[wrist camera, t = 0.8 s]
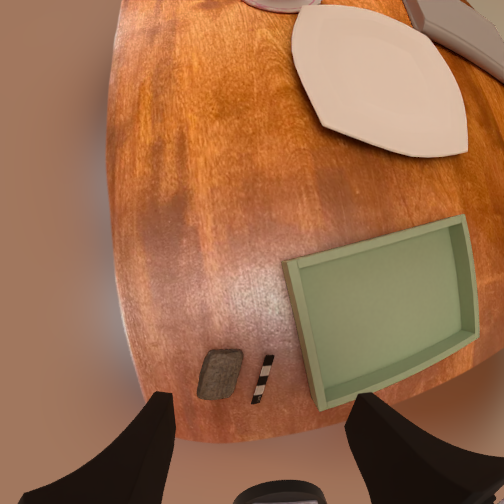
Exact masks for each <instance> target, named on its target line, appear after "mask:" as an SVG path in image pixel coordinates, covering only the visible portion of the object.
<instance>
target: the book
mask: <svg viewBox="0 0 504 504" xmlns="http://www.w3.org/2000/svg"><path fill="white" fill-rule="evenodd" d="M402 1H403V3H404V5H405V8H406V10H407V13H408V15H409V18H410V20H411V23H412V25H413V28H414V29H415V30H417V31H419V32H420V33H422V34H424V35H426V36H427V37H428V38H429V39H431V40H433V41H435V42H437V43H439V44H441V45H443V46H444V47H446V48H448V49H450V50H452V51H454V52H455V53H457V54H459V55H461V56H462V57H464V58H466V59H467V60H469V61H471V62H472V63H474V64H476V65H477V66H479V67H480V68H482V69H483V70H485V71H486V72H488V73H489V74H491V75H492V76H494V77H495V78H496V79H498V80H499V81H501V82H502V83H503V84H504V42H503V40H502V38H501V36H500V35H499V32H498V31H497V29H496V27H495V25H494V24H493V23H492V22H490V21H489V20H488V19H486V18H485V17H484V16H482V15H481V14H479V13H478V12H476V11H475V10H474V9H472V8H471V7H469V6H467V5H466V4H464V3H463V2H461V1H460V0H402Z"/></svg>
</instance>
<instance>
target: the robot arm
mask: <svg viewBox="0 0 504 504" xmlns="http://www.w3.org/2000/svg"><path fill="white" fill-rule="evenodd" d="M344 427H345V431H346V435H347V439H348V443H349V446H350V449H351V451H352V454H353V456H354V458H355V461H356V463H357V465H358V468H359V470H360V472H361V474H362V477H363V479H364V481H365V483H366V486H367V489H368V492H369V495H370V499H371V503H372V504H494V503H493V502H494V501H495V500H496V497H495V495H494V494H495V493H496V492H497V491H498V490H499V489H500V488H501V487H502V486H503V485H504V457H495V456H488V455H483V454H479V453H474V452H471V451H467V450H464V449H461V448H459V447H456V446H453V445H451V444H449V443H446V442H444V441H442V440H440V439H438V438H436V437H434V436H433V435H431V434H429V433H427V432H426V431H424V430H422V429H421V428H419V427H418V426H416V425H415V424H413V423H412V422H410V421H409V420H408V419H406V418H405V417H403V416H402V415H401V414H399V413H398V412H397V411H395V410H394V409H393V408H391V407H390V406H389V405H388V404H386V403H385V402H384V401H382V400H381V399H380V398H378V397H377V396H376V395H374V394H373V393H372V392H367V393H359V394H358V395H357V398H356V400H355V403H354V405H353V407H352V410H351V412H350V415H349V417H348V419H347V422H346V424H345V426H344ZM175 431H176V424H175V415H174V406H173V395H172V393H166V392H158V391H156V392H155V393H153V395H152V396H151V398H150V399H149V401H148V402H147V403H146V405H145V406H144V407H143V409H142V410H141V411H140V413H139V414H138V415H137V416H136V417H135V419H134V420H133V421H132V422H131V423H130V424H129V425H128V427H127V428H126V429H125V430H124V431H123V432H122V433H121V434H120V435H119V436H118V437H117V438H116V439H115V440H114V441H113V442H112V443H111V444H110V445H109V446H108V447H107V448H105V449H104V450H103V451H102V452H101V453H99V454H98V455H97V456H96V457H94V458H93V459H92V460H90V461H89V462H87V463H86V464H85V465H83V466H82V467H80V468H79V469H77V470H76V471H74V472H72V473H70V474H69V475H67V476H65V477H63V478H61V479H59V480H57V481H55V482H53V483H51V484H48V485H46V486H43V487H40V488H38V489H35V490H32V491H29V492H26V493H24V494H23V496H22V497H21V499H20V501H19V502H18V504H161V501H162V496H163V491H164V487H165V482H166V478H167V474H168V470H169V465H170V462H171V458H172V453H173V448H174V440H175ZM252 504H318V502H317V500H309V501H297V502H278V503H252ZM498 504H504V499H502V500H501V501H500V502H499V503H498Z"/></svg>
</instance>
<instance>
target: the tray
mask: <svg viewBox="0 0 504 504" xmlns="http://www.w3.org/2000/svg"><path fill="white" fill-rule="evenodd" d="M281 264H282V268H283V272H284V276H285V281H286V285H287V289H288V293H289V298H290V302H291V306H292V310H293V315H294V319H295V324H296V328H297V332H298V337H299V341H300V346H301V350H302V355H303V360H304V364H305V369H306V374H307V378H308V383H309V388H310V393H311V397H312V399H313V401H314V403H315V405H316V407H317V409H318V410H319V412H320V411H324V410H327V409H330V408H333V407H336V406H339V405H342V404H344V403H347V402H350V401H353V400H355V399H356V398H357V395H358V394H359V393H367V392H372V393H373V392H376V391H378V390H381V389H383V388H385V387H388V386H390V385H392V384H394V383H397V382H399V381H401V380H403V379H405V378H407V377H409V376H412V375H414V374H416V373H418V372H420V371H422V370H424V369H426V368H427V367H429V366H431V365H433V364H435V363H437V362H439V361H441V360H442V359H444V358H446V357H448V356H449V355H451V354H453V353H455V352H456V351H458V350H460V349H461V348H463V347H465V346H466V345H468V344H470V343H471V342H473V341H474V340H476V339H477V338H479V308H478V294H477V284H476V275H475V267H474V260H473V253H472V247H471V242H470V237H469V231H468V227H467V222H466V217H465V214H461V215H457V216H452V217H448V218H444V219H441V220H437V221H434V222H430V223H426V224H423V225H419V226H415V227H412V228H408V229H404V230H401V231H397V232H393V233H390V234H386V235H382V236H378V237H375V238H371V239H367V240H363V241H359V242H356V243H352V244H348V245H344V246H340V247H337V248H333V249H329V250H325V251H321V252H317V253H313V254H309V255H305V256H301V257H297V258H293V259H289V260H286V261H282V262H281Z"/></svg>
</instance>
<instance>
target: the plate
mask: <svg viewBox="0 0 504 504" xmlns="http://www.w3.org/2000/svg"><path fill="white" fill-rule="evenodd" d="M291 40H292V54H293V59H294V63H295V67H296V69H297V72H298V74H299V77H300V79H301V82H302V85H303V87H304V89H305V91H306V93H307V95H308V97H309V99H310V101H311V103H312V105H313V107H314V109H315V111H316V114H317V116H318V118H319V120H320V122H321V124H322V126H323V127H326V128H329V129H331V130H334V131H336V132H339V133H341V134H344V135H347V136H349V137H352V138H355V139H358V140H360V141H363V142H365V143H368V144H370V145H374V146H377V147H380V148H383V149H386V150H388V151H391V152H395V153H399V154H403V155H407V156H411V157H426V158H429V157H444V156H450V155H456V154H460V153H464V152H468V135H467V120H466V113H465V107H464V102H463V99H462V95H461V92H460V89H459V87H458V85H457V82H456V80H455V78H454V76H453V74H452V72H451V70H450V69H449V67H448V65H447V63H446V62H445V60H444V59H443V57H442V56H441V54H440V53H439V51H438V50H437V48H436V47H435V46H434V44H433V43H432V42H431V40H430V39H429V38H428V37H427V36H426V35H424V34H422V33H420V32H419V31H417V30H415V29H413V28H411V27H409V26H407V25H405V24H403V23H401V22H399V21H397V20H395V19H393V18H390V17H388V16H385V15H383V14H380V13H377V12H374V11H371V10H367V9H362V8H357V7H350V6H341V5H303V6H302V8H301V10H300V12H299V14H298V17H297V19H296V22H295V25H294V28H293V33H292V39H291Z"/></svg>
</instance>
